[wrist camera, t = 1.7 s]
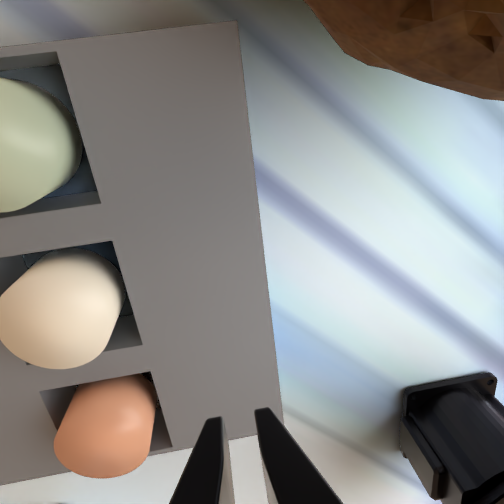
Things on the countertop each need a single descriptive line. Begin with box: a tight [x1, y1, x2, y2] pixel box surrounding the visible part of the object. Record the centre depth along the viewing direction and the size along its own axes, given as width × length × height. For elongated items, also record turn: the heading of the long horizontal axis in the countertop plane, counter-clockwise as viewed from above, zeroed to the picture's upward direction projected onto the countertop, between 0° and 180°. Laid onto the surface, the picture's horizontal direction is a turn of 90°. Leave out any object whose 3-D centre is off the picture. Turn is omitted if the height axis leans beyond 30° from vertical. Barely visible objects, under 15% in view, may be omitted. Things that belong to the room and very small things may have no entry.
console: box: [0, 20, 284, 485], centre depth 17 cm, size 18×20×3 cm
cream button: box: [0, 248, 125, 369], centre depth 16 cm, size 4×4×3 cm
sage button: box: [0, 78, 82, 213], centre depth 13 cm, size 4×4×3 cm
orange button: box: [54, 373, 157, 478], centre depth 19 cm, size 4×4×3 cm
